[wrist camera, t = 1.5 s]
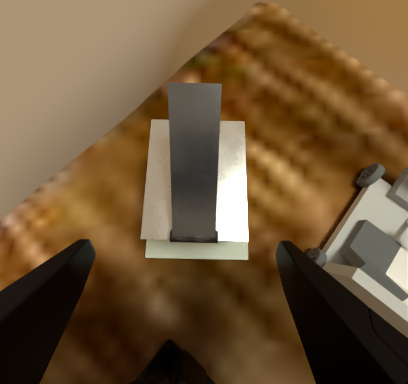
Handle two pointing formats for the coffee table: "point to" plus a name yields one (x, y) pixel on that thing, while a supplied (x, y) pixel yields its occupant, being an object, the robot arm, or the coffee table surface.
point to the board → (197, 250)
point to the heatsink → (226, 188)
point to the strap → (194, 160)
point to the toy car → (373, 247)
